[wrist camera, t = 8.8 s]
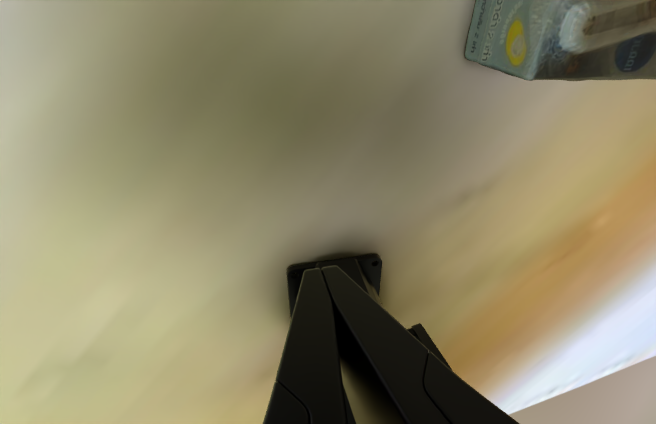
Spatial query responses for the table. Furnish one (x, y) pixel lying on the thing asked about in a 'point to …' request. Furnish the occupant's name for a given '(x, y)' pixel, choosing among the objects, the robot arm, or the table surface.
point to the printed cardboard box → (565, 38)
